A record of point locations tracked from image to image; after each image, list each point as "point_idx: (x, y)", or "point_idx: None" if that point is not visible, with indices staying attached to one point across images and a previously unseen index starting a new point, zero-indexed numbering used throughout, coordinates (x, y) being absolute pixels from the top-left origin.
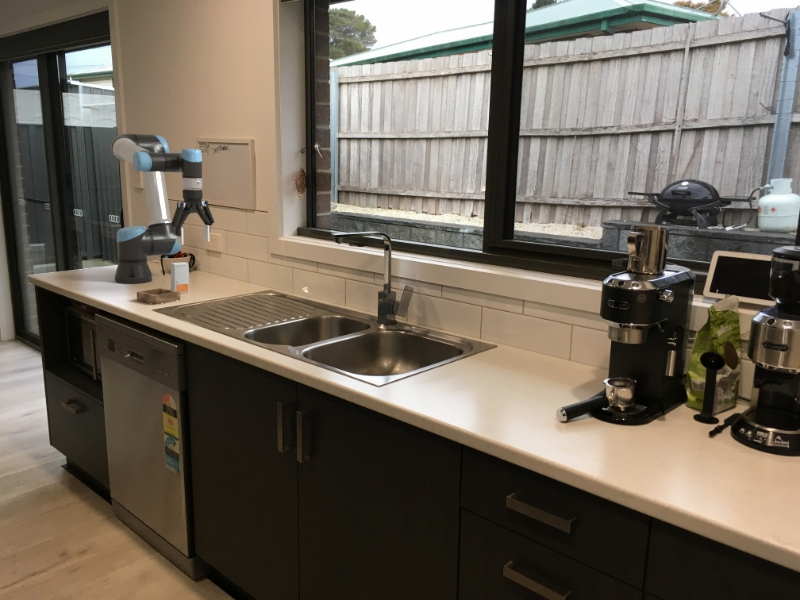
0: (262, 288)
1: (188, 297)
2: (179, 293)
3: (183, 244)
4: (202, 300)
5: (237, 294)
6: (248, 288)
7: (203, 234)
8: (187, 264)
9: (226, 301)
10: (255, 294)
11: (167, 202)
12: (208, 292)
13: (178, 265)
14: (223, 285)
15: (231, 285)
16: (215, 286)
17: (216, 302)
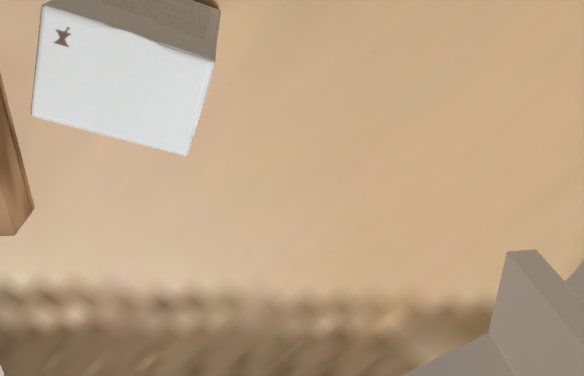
0: None
1: (114, 181)
2: (14, 229)
3: (2, 373)
4: (129, 279)
5: (351, 285)
6: (510, 218)
7: (566, 331)
8: (174, 152)
9: (202, 355)
10: (403, 332)
11: None
12: (290, 153)
13: (78, 125)
14: (516, 51)
15: (541, 89)
16: (460, 39)
17: (154, 344)
